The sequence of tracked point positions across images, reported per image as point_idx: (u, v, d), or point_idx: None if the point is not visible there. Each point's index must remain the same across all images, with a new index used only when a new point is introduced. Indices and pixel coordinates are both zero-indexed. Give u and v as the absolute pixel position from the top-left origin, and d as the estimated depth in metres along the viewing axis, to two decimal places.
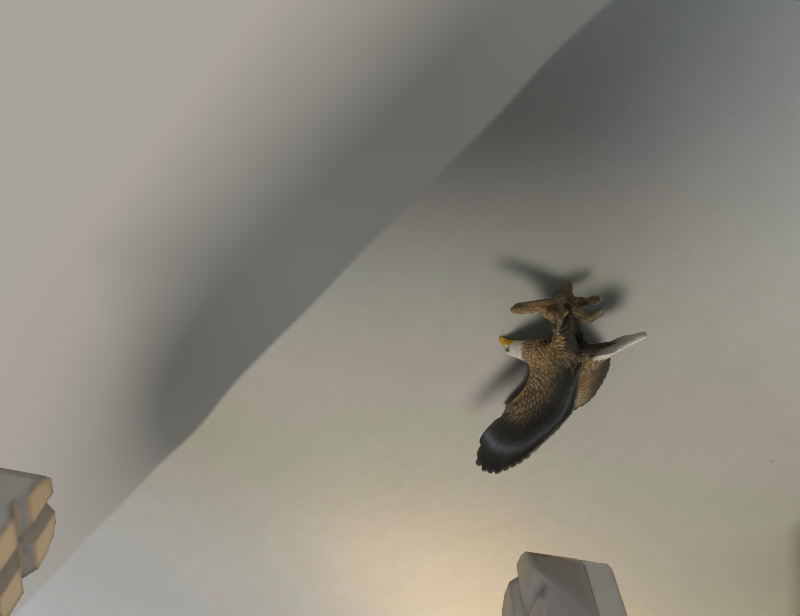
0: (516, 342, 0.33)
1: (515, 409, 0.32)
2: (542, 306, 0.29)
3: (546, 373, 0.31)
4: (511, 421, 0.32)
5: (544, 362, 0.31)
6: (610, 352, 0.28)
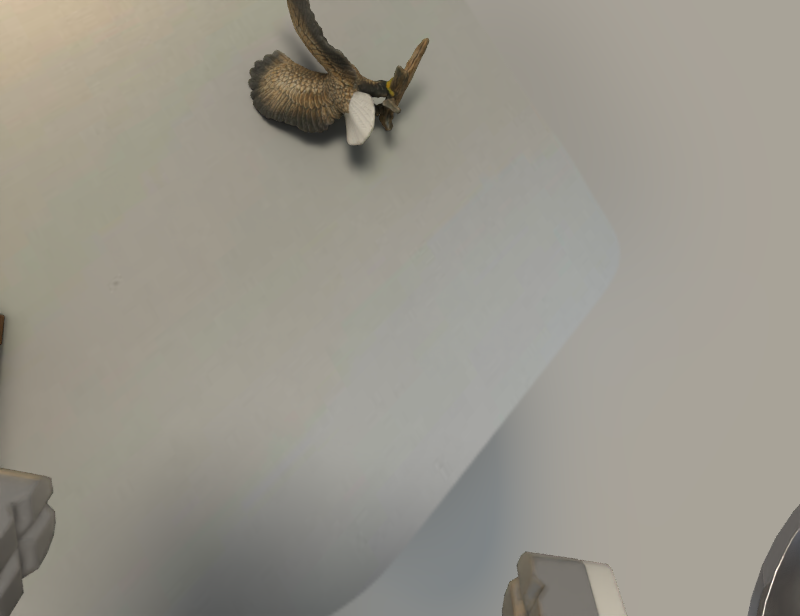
0: None
1: None
2: (409, 73, 0.35)
3: None
4: None
5: None
6: (370, 96, 0.33)
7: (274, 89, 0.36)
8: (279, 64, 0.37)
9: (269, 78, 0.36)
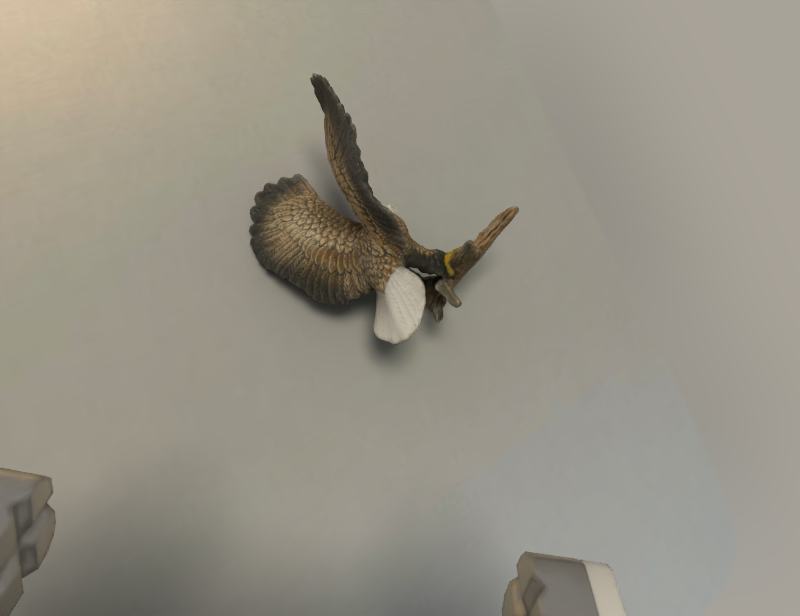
0: None
1: None
2: (481, 248, 0.24)
3: None
4: None
5: None
6: (422, 282, 0.22)
7: (283, 232, 0.25)
8: (297, 196, 0.26)
9: (279, 214, 0.26)
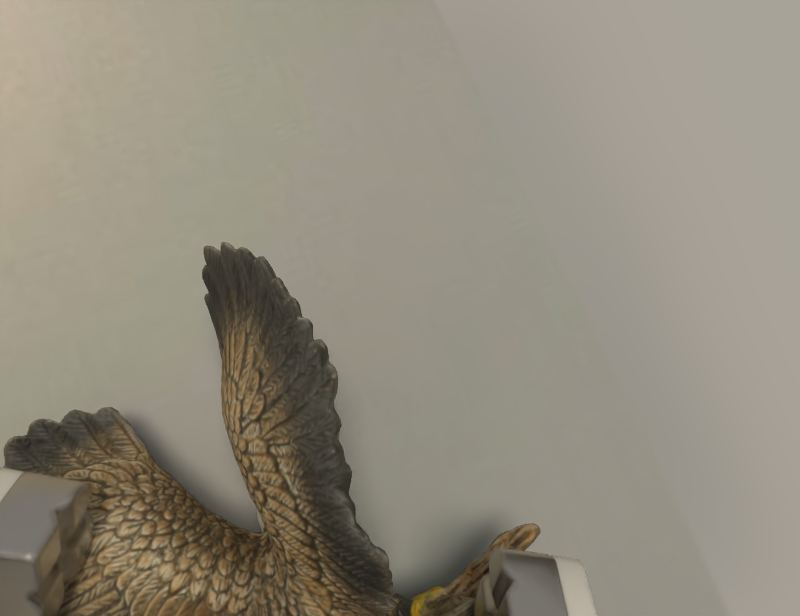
0: None
1: None
2: (472, 594, 0.13)
3: None
4: None
5: None
6: None
7: None
8: (112, 459, 0.13)
9: None
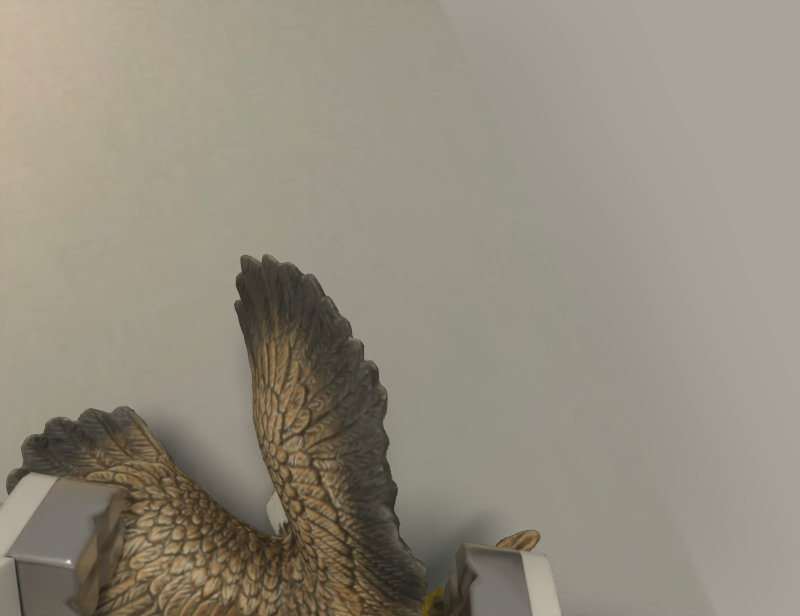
0: None
1: None
2: None
3: None
4: None
5: None
6: None
7: None
8: (134, 461, 0.13)
9: None
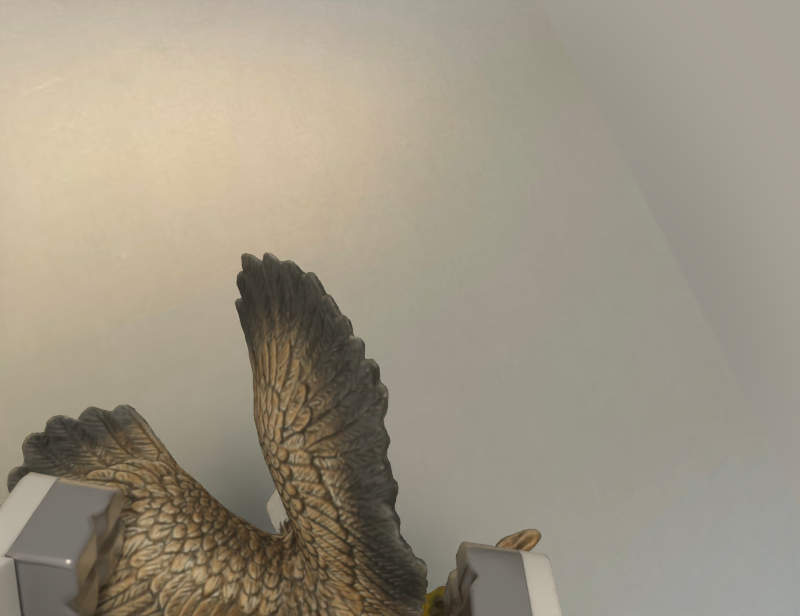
0: None
1: None
2: None
3: None
4: None
5: None
6: None
7: None
8: (134, 459, 0.13)
9: None
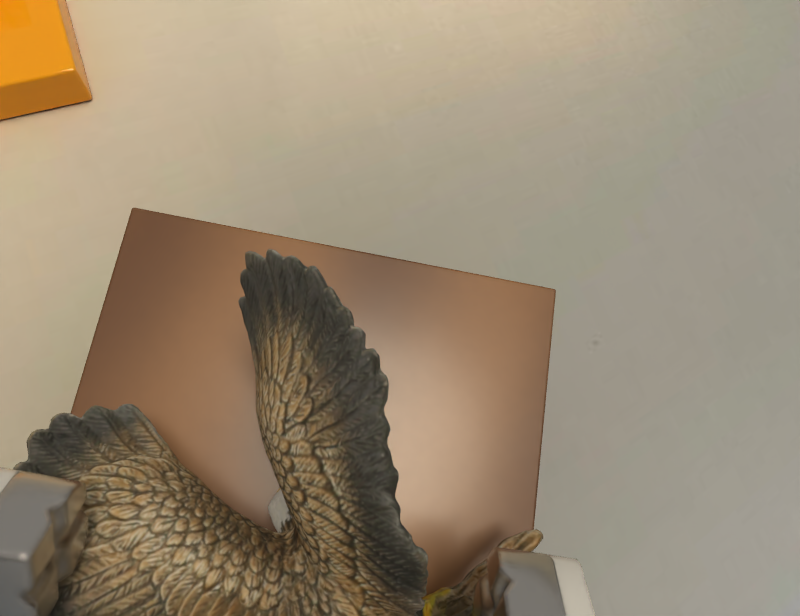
0: None
1: None
2: None
3: None
4: None
5: None
6: None
7: (110, 544, 0.11)
8: (137, 456, 0.13)
9: (99, 497, 0.12)
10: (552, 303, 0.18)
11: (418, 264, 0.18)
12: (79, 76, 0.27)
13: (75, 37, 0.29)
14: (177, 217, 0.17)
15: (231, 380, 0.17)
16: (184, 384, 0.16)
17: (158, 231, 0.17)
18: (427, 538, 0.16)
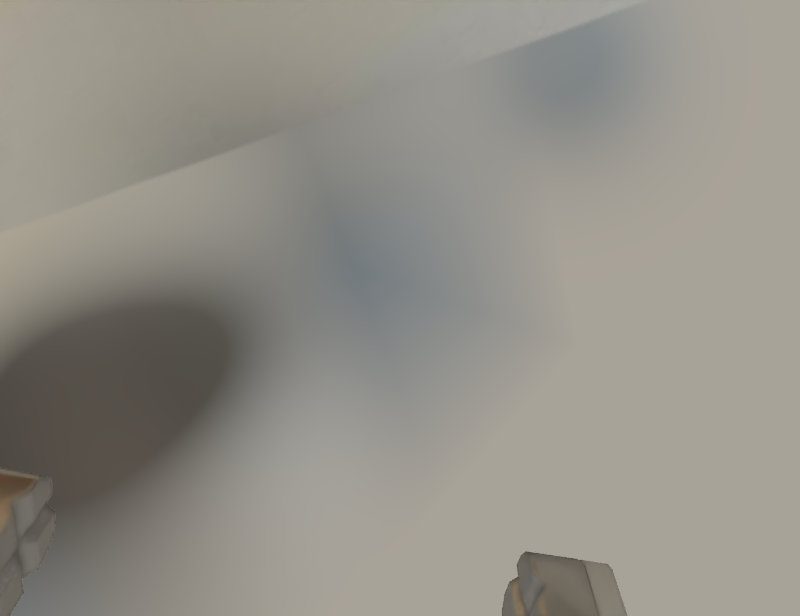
0: None
1: None
2: None
3: None
4: None
5: None
6: None
7: None
8: None
9: None
10: None
11: None
12: None
13: None
14: None
15: None
16: None
17: None
18: None
